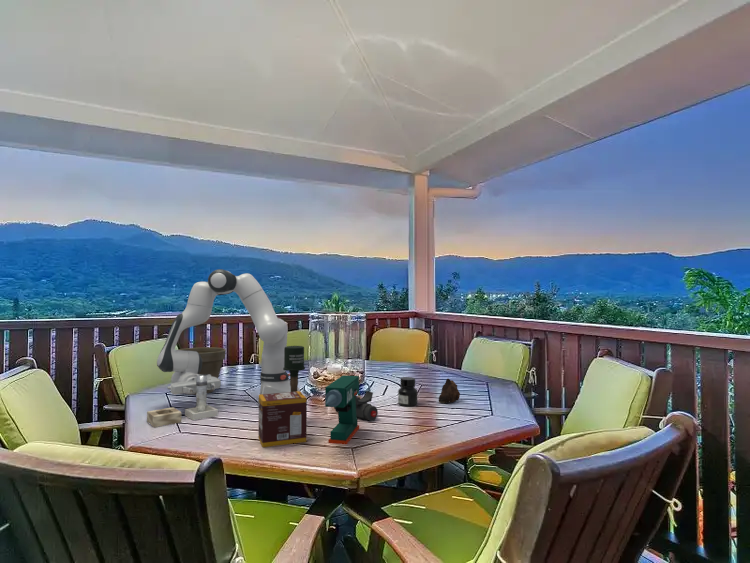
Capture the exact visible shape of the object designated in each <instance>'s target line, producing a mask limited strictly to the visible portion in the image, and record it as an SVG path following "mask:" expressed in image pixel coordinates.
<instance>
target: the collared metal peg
mask: <svg viewBox="0 0 750 563" xmlns="http://www.w3.org/2000/svg"><path fill="white" fill-rule="evenodd" d="M207 394H208V393H207V375H198V376H197V381H196V396H195V398H196V402H195V407H196V413H199V412H204V411H206V406H207V405H208V404H207V401H208V399H207Z"/></svg>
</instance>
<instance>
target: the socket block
mask: <svg viewBox="0 0 750 563" xmlns="http://www.w3.org/2000/svg"><path fill="white" fill-rule="evenodd" d="M146 411H147V410H146ZM146 422H147V423H148V424H149V423H150V424H151V426H152V427H153V428H159V426H160V427H164V426H163V425H165V426H169V424H170V425H175V423H176V424H180V423H182V411H180V410H178V409H177V408H175V407H174V406H172V407H166V408H159V409H154V410H150V411H149V410H148V411H147V412H146ZM150 424H149V425H150Z"/></svg>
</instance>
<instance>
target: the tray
mask: <svg viewBox="0 0 750 563" xmlns="http://www.w3.org/2000/svg"><path fill="white" fill-rule="evenodd" d="M184 416H186V417H187V418H188V419H190V420H191V421H199V420H203V419H208V418H209V419H210V418H215V417H218V416H219V410H218V408H216V407H214V406H212V405H209V404H207V406H206V411H204V412H199V413H196V406H195V407H189V408H185V409H184Z"/></svg>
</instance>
